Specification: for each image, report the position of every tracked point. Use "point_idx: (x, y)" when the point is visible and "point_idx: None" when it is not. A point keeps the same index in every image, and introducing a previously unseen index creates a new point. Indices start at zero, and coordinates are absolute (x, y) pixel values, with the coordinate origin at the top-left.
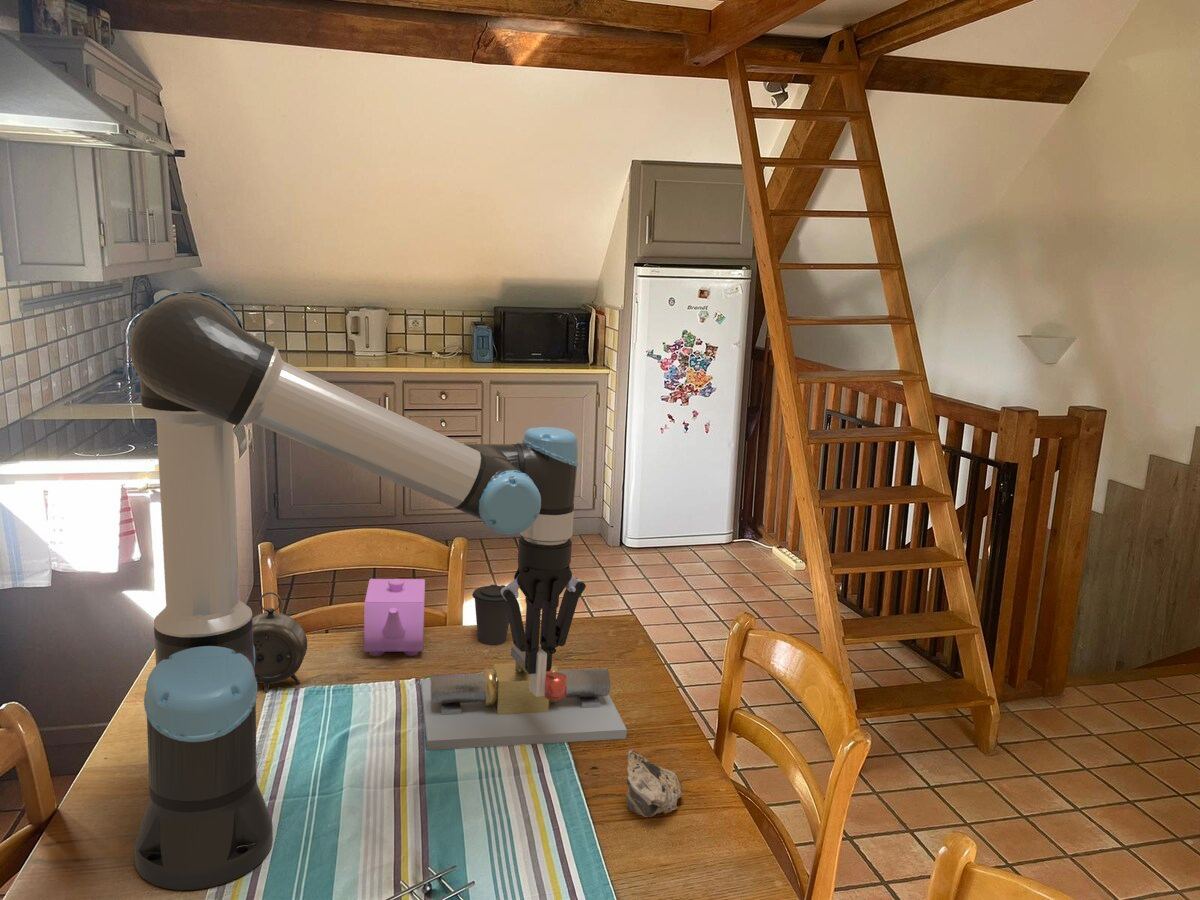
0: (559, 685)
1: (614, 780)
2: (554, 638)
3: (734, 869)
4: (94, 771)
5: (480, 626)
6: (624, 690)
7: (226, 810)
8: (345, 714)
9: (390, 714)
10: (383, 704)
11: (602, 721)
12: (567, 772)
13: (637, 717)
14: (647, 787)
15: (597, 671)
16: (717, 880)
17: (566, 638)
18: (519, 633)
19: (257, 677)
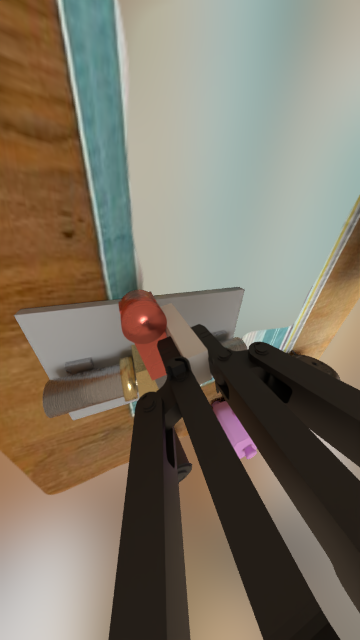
0: (138, 301)
1: (26, 186)
2: (180, 407)
3: None
4: None
5: (177, 439)
6: (38, 404)
7: None
8: (268, 332)
9: (245, 335)
10: (246, 346)
11: (59, 333)
12: (109, 227)
13: (9, 359)
14: None
15: (63, 406)
16: None
17: (134, 423)
18: (320, 378)
19: (302, 355)
